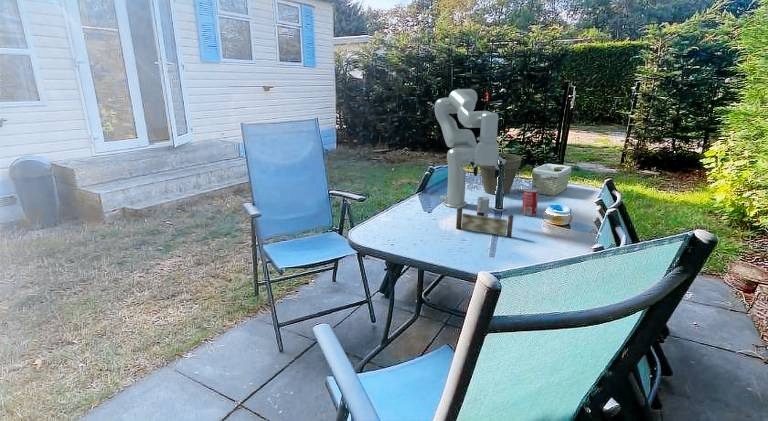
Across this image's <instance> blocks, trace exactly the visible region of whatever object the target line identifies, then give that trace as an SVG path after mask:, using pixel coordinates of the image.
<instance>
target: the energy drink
mask: <svg viewBox="0 0 768 421" xmlns="http://www.w3.org/2000/svg"><path fill="white" fill-rule="evenodd" d="M476 205H477V206H476V208H477V209H476V215H477V216H484V217H489V208H490V198H489V197H487V196H478V199H477V204H476Z"/></svg>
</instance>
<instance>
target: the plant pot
mask: <svg viewBox="0 0 768 421" xmlns="http://www.w3.org/2000/svg"><path fill="white" fill-rule="evenodd" d="M500 155H504V156H505V160H506V162H505V178H504V195H508V194H509V193H510V191H511V189H512V186H513V184H514V181H515V178H516V175H517V174H518V173H517V172H518V170H519V168H520V167H521V165H522V164H521V162H522V157H521V156H520V155H516V154H512V153H504V152H503V153H502V152H499V156H500ZM478 166H479V170H480V175H481V180H482V185H483V190H484V192H485V193H486V194H489V195H494V194H495V191H496V186H497V178H495V170H496V167H495V166H489V165H478ZM504 195H503V196H504ZM494 196H495V195H494Z"/></svg>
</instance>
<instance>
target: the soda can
mask: <svg viewBox="0 0 768 421" xmlns="http://www.w3.org/2000/svg"><path fill="white" fill-rule="evenodd" d="M538 202H539V193H538V190H537V189H532V187H530V188H529V187H528V188H525V189H524V191H523V197H522V209H521V213H522V215H523V216H527V217H534V216H536V215H537V213H538V212H537V211H538Z"/></svg>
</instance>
